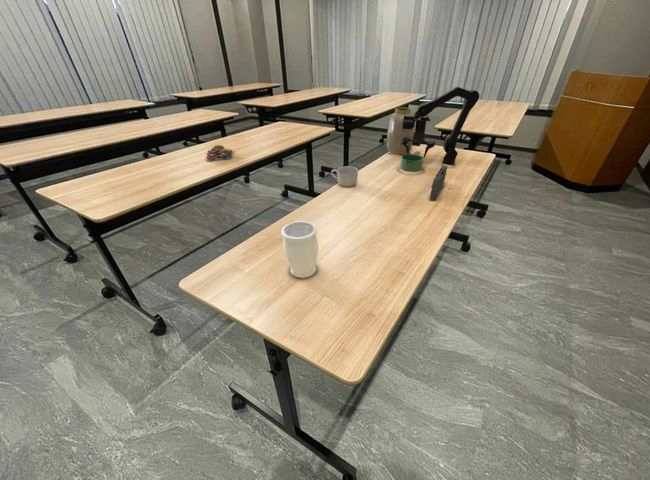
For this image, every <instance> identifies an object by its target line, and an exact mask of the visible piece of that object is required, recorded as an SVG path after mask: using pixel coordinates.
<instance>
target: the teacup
mask: <svg viewBox="0 0 650 480" xmlns="http://www.w3.org/2000/svg"><path fill="white" fill-rule="evenodd" d="M334 172H335V173H336V175H335V174H334ZM330 174H331V175H330V176H332V177H333V178H334V179H335V180H336V181H337V183H338V184H339V183H340V184H339V185H341V186H342V187H344V188H350V187H353V186H354V185H356V183H358V179H359V178H358V176H359V169H358V168H357V167H355V166H351V165H350V166H349V165H345V166H340V167H338V168H337V169H336V168H333V169H332V170H331V172H330Z"/></svg>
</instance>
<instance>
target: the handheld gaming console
mask: <svg viewBox="0 0 650 480" xmlns="http://www.w3.org/2000/svg"><path fill="white" fill-rule="evenodd" d="M447 171H448V165H442V166H441V167H440V168H439V170H438V172H437V173H436V175H435V176H434V178H433V181H432V184H431V190H430V196H429V200H430V201H436V200H437V198H438V196H439V194H440V192H441V191H442V189H443V185H444V184H445V181H446V175H447Z"/></svg>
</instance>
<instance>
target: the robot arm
mask: <svg viewBox="0 0 650 480" xmlns="http://www.w3.org/2000/svg"><path fill="white" fill-rule="evenodd" d="M457 97H459V98H462V99H463V101H462V103H463V104H462V109H461V110H460V112H459V115H458V117H457V119H456V121H455V123H454V125H453V128H452V130H451V133H450V134H449V136H448V137H447V136H445V138H444V141H443V142H442V148H443V150H444V152H445V154H444V156H442V157H443V158H442V165H445V166H454V165H455V164H456V160H457V159H456V158H457V156H458V151H457V150H456V146H457V142H458V137H459V135H460V133H461V131H462V130H463V126H464V124H465V123H466V120H467V119H468V117H469V114H470V111H471V110H472V109H473V108H474V107H475V106H476V105H477V103H478V101H479V99H480V93H479V91H478V90H476V89H469V90H468V89H466V88H462V87H460V86H454V87H453V88H452V89H450V90H449V91H447V92H444V93H443V94H442V95H440V96H437V97H436V98H434V99H432V100H430V101H426V102H423V103H420V104H418V106H417V109H416V111H415V113H414V114H412V115H413V116H404V119H403V124H402V129H412V128H413V127H414V136H413V139H412V140H410V138H404V139H403V140H402V143H401V144H402V145H404V146H405V147H406V149H407V154H408V155H409V154H411V151H410V143H412V147H421V145H424V146H426V147H425V149H424V154H423V158H424V159H425V158H426V155H427V154H428V152H429V150H430V149H432V148H434V147H435V146H436V140H435V139H428V140H426V137H425V133H426V127H427V122H431V118H429V116H428V115H429V114H431V113H432V112H433V111H434V110H435V109H436V108H438V107H440V106H442V105H443V104H446V103H447V102H449V101H451V100H453V99H454V98H457Z"/></svg>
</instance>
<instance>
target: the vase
mask: <svg viewBox="0 0 650 480" xmlns="http://www.w3.org/2000/svg"><path fill="white" fill-rule="evenodd" d="M413 115H414V114H413V113H412V108H411V107H403V106H402V107H400V106H399V107H396V108H395V109H394V113H393V114H392V115H391V117H390V118H389V122H388V126H387V134H386V143H385V144H386V151H387V153H388V155H393V156H400V157H402V156H403V155H408V154H407V149H406V147H405V146H404V145H402V144H401V143H402V140H403V139H404V138H410V140H412V139H413V136H414V133H415V126H414V127H413V128H412V129H402V124H403V119H404V116H413ZM412 148H413V146H412V143H410V152H411V151H412ZM389 152H390V153H389Z"/></svg>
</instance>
